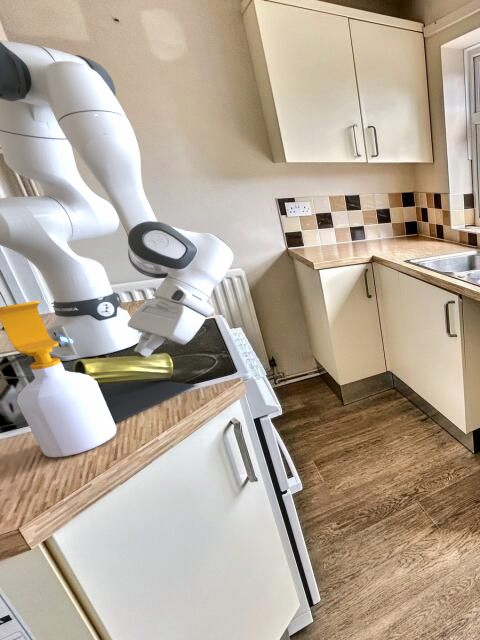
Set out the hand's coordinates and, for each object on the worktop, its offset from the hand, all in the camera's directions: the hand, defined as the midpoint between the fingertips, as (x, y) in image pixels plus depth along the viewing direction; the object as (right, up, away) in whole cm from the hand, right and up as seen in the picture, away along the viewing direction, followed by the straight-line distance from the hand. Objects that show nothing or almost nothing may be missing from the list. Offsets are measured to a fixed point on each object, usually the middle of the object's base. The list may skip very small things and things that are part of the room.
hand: (140, 354), depth 89 cm
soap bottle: (+6, -15, -18) cm, 23 cm away
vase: (+2, -3, +5) cm, 6 cm away
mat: (-1, -9, -3) cm, 9 cm away
